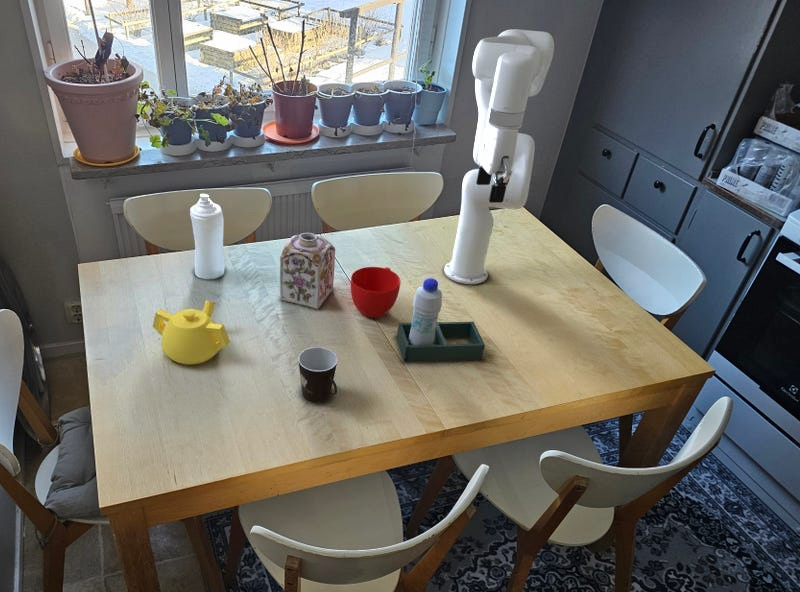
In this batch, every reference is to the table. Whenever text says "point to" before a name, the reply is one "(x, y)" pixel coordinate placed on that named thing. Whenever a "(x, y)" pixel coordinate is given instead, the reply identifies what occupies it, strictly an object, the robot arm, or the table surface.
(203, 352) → the teapot
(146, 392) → the table surface
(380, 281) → the ceramic cup
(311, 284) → the decorative jar
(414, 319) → the bottle
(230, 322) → the table surface
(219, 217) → the spray can
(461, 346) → the tray
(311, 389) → the coffee mug
